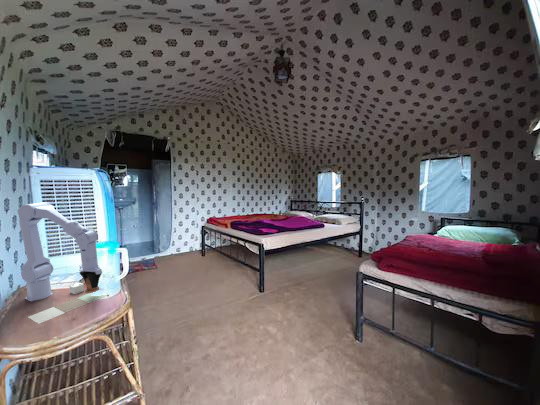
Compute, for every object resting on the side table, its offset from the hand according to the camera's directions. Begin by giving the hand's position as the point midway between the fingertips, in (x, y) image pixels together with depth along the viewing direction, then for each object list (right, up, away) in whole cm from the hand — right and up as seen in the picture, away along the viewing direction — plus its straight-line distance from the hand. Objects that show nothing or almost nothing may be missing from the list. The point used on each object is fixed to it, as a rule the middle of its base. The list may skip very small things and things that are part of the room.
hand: (92, 286), depth 113 cm
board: (-4, -6, -7) cm, 10 cm away
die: (-11, -5, +5) cm, 13 cm away
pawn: (0, -2, 0) cm, 2 cm away
